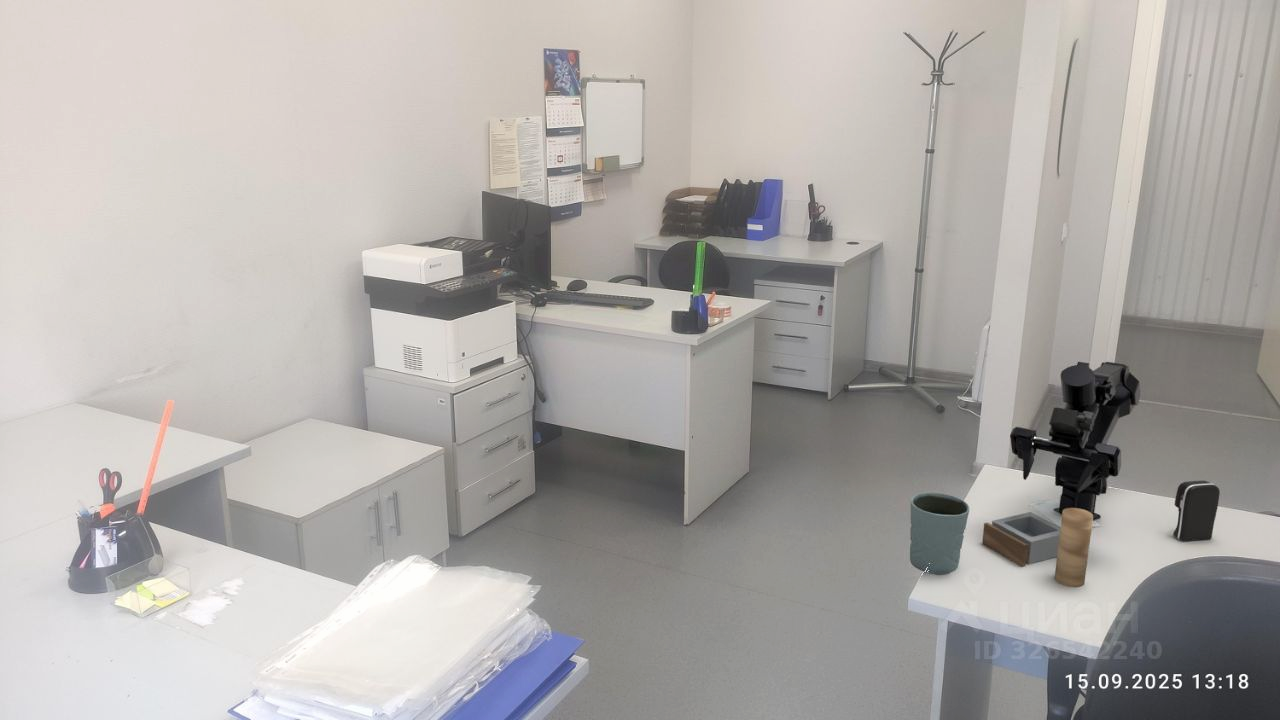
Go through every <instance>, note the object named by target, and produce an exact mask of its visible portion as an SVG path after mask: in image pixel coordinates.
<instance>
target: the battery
mask: <svg viewBox="0 0 1280 720" xmlns="http://www.w3.org/2000/svg"><path fill="white" fill-rule="evenodd" d="M1176 489H1177V490H1176V494H1175V499H1174V506H1175V507H1176V508H1178V509H1177V511H1178V514H1177V515H1178V517H1177V525H1176V528H1175V529H1174V531H1173V536H1174V537H1176V539H1178V540H1179V541H1183V542H1184V541H1201V540H1208V539H1212V538H1213V531H1214V525H1215V521H1216V516H1217V512H1218V507H1219V500H1220V492H1221V491H1220V488H1219V487H1218V486H1217V485H1216V484H1214V483H1211V482H1210V481H1206V480H1191V481H1184V482H1182V483H1180V484H1179V485H1178V487H1177V488H1176Z"/></svg>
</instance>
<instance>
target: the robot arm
mask: <svg viewBox="0 0 1280 720" xmlns="http://www.w3.org/2000/svg"><path fill="white" fill-rule="evenodd" d="M1140 386H1141V385H1140V381H1139V380H1138V379H1137V377H1135V375H1134V374H1132V373H1131V372H1130V366H1129V365H1127V364H1125V363H1119V362H1111V361H1105V362H1101V364H1100V366H1099V367H1097V368H1095V369H1094V370H1093V369H1091V368H1090V363H1089V362H1083V361H1077V363H1076V364H1075V365H1071V366H1068V367H1066V368H1064V369H1063V370H1061V373H1060V387H1061V397H1062V402H1063V403H1065V406H1064V407H1053V409H1052V414H1051V416H1050V420H1049V424H1048V425H1050V428H1049V431H1048V436H1049V437H1051V438H1050V439H1046V438H1042V437H1037V430H1035V429H1031V428H1026V427H1022V426H1015V427H1014V428H1012V430H1011V432H1010V435H1009V436H1010V437H1009V438H1010V447H1011V453H1013V454H1014V455H1015V456H1017V458H1018V459H1020V460H1022V461H1023V462H1022V478H1023V480H1024V481H1026V480H1027V479H1028V477H1029V476H1030V473H1031V470H1032V467H1033V464H1034V462H1035V456H1036V453H1037V450H1040V451H1045V452H1050V453H1053V454H1055V455H1058V456H1059V457H1058V459H1057V460H1056V464H1055V468H1054V470H1055V471H1054V473H1055V474H1054V475H1055V478H1054V479H1055V480H1054V481H1055V483H1054V484H1055V485H1054V486H1056V487H1062V489H1061V490H1062V491H1061V494H1060V498H1059V500H1060V506H1059V508H1055V509H1054V511H1056V512H1058V513H1060V514H1062V512H1063V510H1064V509H1066V508H1079V509H1083V510H1086V511H1088V512H1090V513H1092V514H1093V521H1094V520H1097V519H1098V520H1099V519H1101V514H1098V513H1096V512H1095V511H1096V503H1097V502H1096V501H1097V496H1100V495H1104V494H1105V495H1106V494H1107V490H1108V478H1109V477H1117V476H1119V473H1120V472H1121V471H1120V470H1121V467H1122V450H1121V449H1120V447H1119V446H1115V445H1111V444H1108V441H1109V439H1110V438H1111V435H1112V433H1113V431H1114V429H1115V427H1116V425H1117V422H1118V420H1119V419H1120V418H1123V417H1126V416H1128V415H1130V414H1131V413H1132V411H1133V409H1134V408H1135V407H1136V406H1138V404H1139V401H1140V397H1141V387H1140ZM1060 456H1061V457H1060Z"/></svg>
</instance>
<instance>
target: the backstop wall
mask: <svg viewBox="0 0 1280 720" xmlns="http://www.w3.org/2000/svg"><path fill="white" fill-rule="evenodd" d="M981 544H982V545H983V546H985V547H987V548H989V549H990V550H992V551H994V552H995V553H997V554H998V555H999V554H1000V556H1002V557H1004V558H1006V559H1007V560H1009V561H1011V562H1013V563H1015V564H1017V565H1018V566H1020V567H1022V568H1024V567H1026V566H1027V563H1026V558H1027V549H1028V544H1026V543H1024V542H1022V541H1021V540H1019V539H1017V538H1015V537H1013V536H1011V535H1010V534H1008V533H1006V532H1004V531H1002V530H1000V529H999V528H997V527H995V526H993V525H992V523H989V522H983V532H982V543H981Z"/></svg>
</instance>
